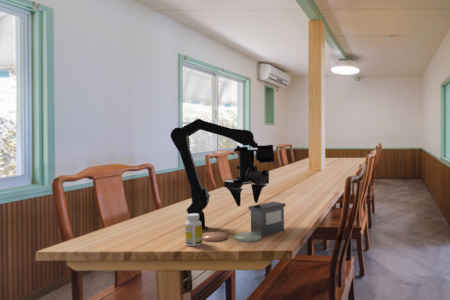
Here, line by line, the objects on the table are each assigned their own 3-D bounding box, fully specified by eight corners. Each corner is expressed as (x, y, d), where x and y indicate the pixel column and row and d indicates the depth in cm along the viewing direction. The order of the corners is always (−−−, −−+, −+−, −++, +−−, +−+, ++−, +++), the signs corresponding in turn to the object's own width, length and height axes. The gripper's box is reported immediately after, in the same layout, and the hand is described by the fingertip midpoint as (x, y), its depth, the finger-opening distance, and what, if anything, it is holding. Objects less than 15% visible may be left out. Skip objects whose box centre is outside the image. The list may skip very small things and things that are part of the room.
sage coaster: (229, 238, 128) (229, 235, 128) (248, 233, 134) (248, 230, 134) (248, 243, 121) (248, 240, 121) (266, 238, 127) (266, 235, 127)
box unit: (249, 234, 132) (248, 206, 131) (273, 228, 140) (273, 201, 140) (261, 237, 127) (260, 208, 127) (286, 230, 136) (285, 203, 135)
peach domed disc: (195, 238, 129) (195, 235, 129) (215, 233, 135) (214, 230, 135) (211, 243, 122) (211, 240, 122) (231, 237, 128) (231, 235, 128)
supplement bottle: (202, 241, 125) (201, 212, 125) (202, 246, 119) (201, 216, 119) (186, 242, 125) (185, 213, 124) (185, 246, 119) (184, 216, 119)
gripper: (243, 166, 128) (244, 211, 129) (279, 162, 141) (280, 203, 141) (222, 164, 137) (223, 207, 137) (257, 161, 149) (258, 200, 149)
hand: (247, 204), depth 141 cm, fingers open, 9 cm apart
